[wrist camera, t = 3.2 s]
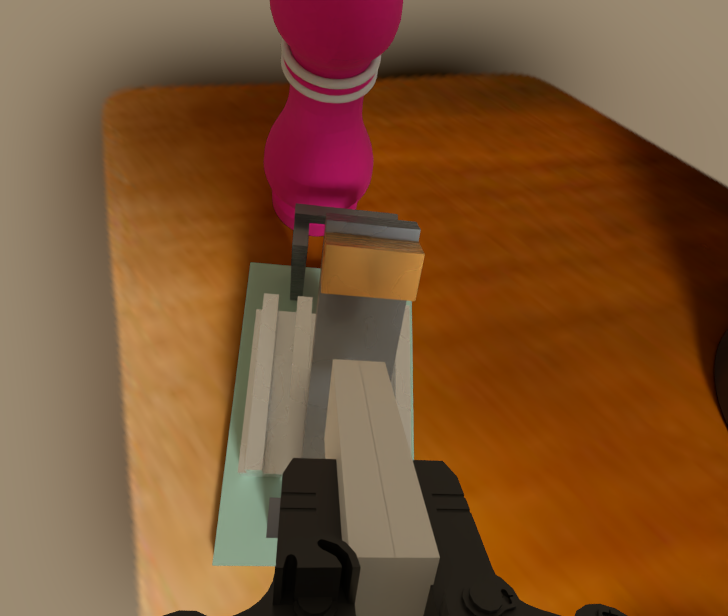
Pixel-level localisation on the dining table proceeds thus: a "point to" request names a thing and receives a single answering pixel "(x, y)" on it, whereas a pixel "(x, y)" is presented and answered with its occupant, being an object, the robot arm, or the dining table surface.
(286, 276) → the mainboard
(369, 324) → the grey bar
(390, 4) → the pepper mill
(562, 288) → the dining table surface
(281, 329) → the grey blocky device
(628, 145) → the dining table surface
